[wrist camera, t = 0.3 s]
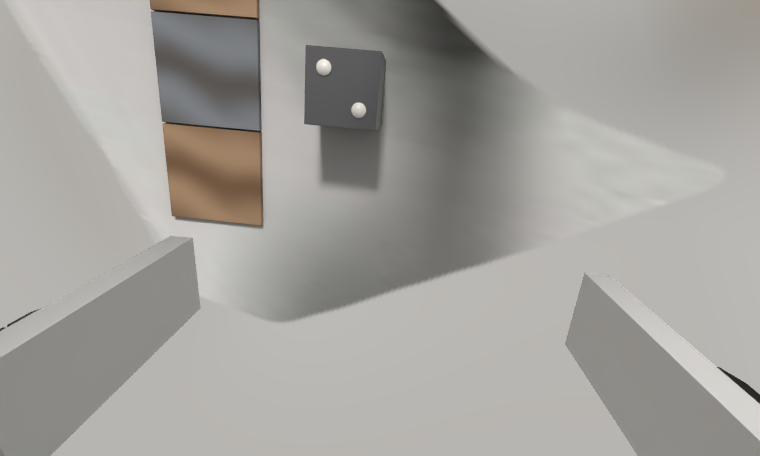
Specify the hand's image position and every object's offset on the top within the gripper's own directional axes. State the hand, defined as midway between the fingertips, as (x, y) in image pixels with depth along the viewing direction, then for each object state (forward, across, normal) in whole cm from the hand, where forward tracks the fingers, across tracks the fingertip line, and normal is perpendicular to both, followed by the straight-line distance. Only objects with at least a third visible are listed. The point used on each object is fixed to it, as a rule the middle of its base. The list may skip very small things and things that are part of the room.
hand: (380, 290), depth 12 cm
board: (+26, -19, +8) cm, 33 cm away
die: (+26, -5, +7) cm, 28 cm away
